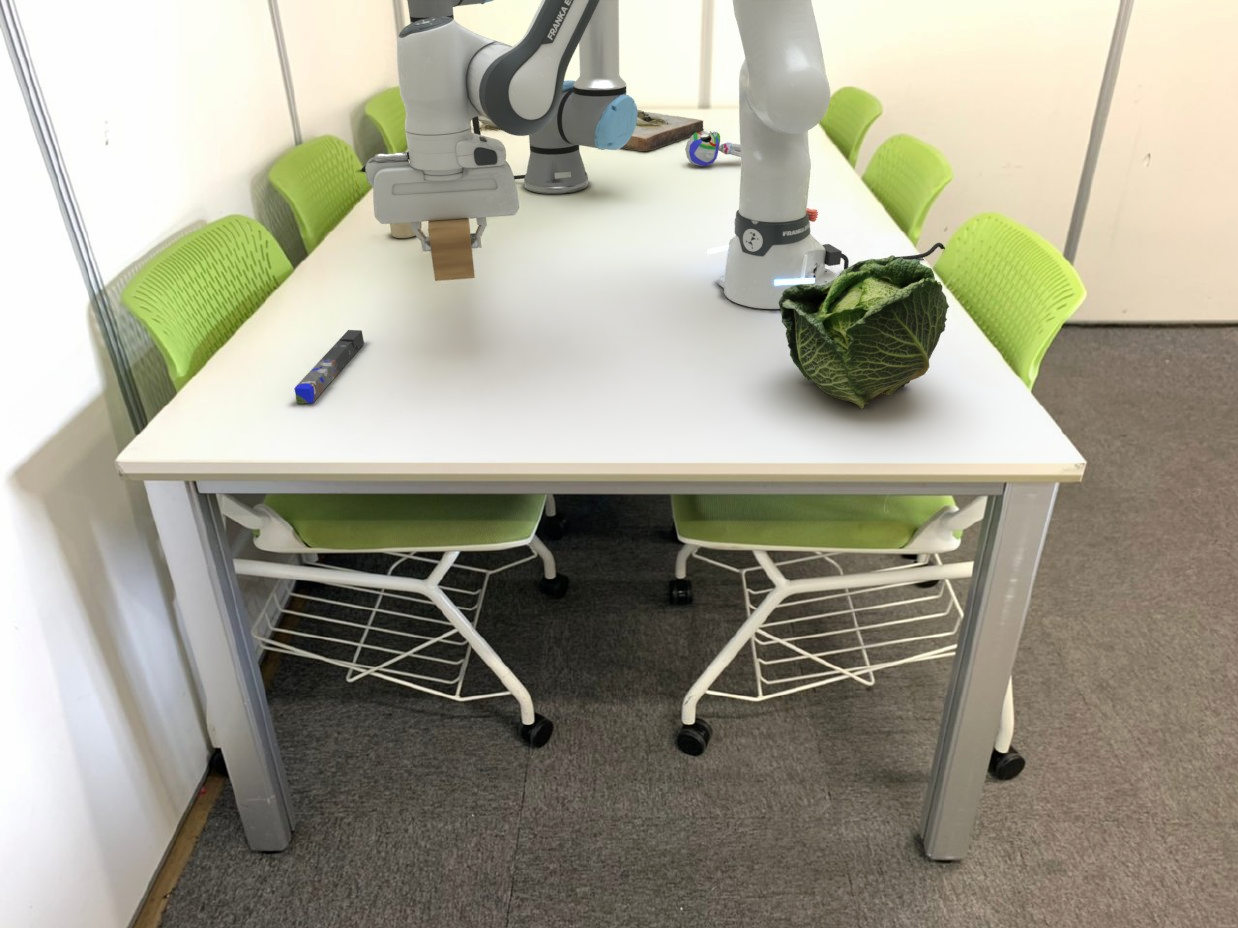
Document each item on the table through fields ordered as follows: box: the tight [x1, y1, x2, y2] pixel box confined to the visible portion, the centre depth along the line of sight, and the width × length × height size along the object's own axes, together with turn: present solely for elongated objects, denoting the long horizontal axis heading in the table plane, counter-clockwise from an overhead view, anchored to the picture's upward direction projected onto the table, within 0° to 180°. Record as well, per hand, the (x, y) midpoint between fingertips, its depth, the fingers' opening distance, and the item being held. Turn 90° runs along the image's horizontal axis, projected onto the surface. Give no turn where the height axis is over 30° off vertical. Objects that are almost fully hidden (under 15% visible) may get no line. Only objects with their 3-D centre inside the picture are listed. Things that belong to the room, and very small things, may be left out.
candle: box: [389, 222, 416, 239], centre depth 183 cm, size 6×6×10 cm
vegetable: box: [779, 254, 950, 410], centre depth 120 cm, size 20×19×20 cm
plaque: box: [621, 109, 705, 152], centre depth 257 cm, size 30×7×30 cm
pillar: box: [294, 329, 365, 404], centre depth 131 cm, size 2×2×20 cm
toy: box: [684, 130, 741, 167], centre depth 229 cm, size 10×8×30 cm
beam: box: [427, 218, 476, 282], centre depth 149 cm, size 56×6×8 cm, turn 10°
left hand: (450, 181), depth 170 cm, fingers closed on beam, 6 cm apart
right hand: (452, 248), depth 130 cm, fingers closed on beam, 5 cm apart
